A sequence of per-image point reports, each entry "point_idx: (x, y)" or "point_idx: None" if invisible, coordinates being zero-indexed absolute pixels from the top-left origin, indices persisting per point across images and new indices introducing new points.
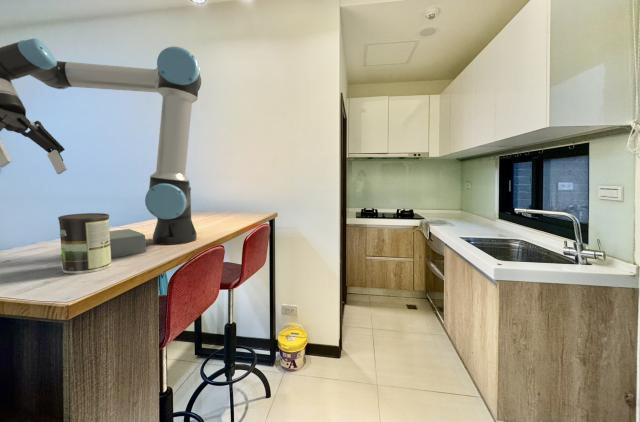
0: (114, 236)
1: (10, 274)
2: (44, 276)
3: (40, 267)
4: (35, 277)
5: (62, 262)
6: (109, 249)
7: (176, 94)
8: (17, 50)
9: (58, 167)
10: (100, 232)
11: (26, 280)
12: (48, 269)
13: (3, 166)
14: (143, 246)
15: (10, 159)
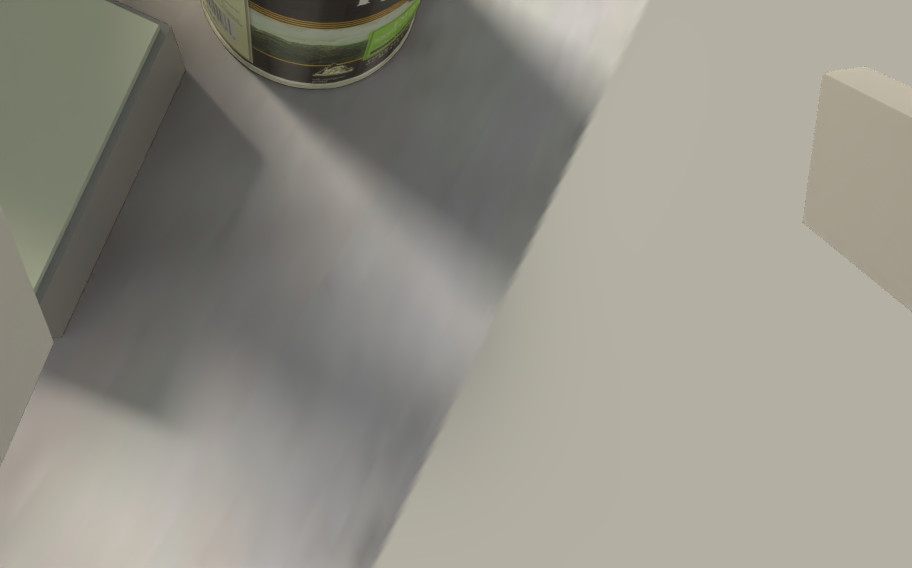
0: (10, 5)
1: (513, 239)
2: (479, 54)
3: (391, 231)
4: (502, 78)
5: (412, 18)
6: None
7: None
8: None
9: (3, 316)
10: None
11: (541, 71)
12: (400, 153)
13: (814, 203)
14: None
15: (843, 86)
